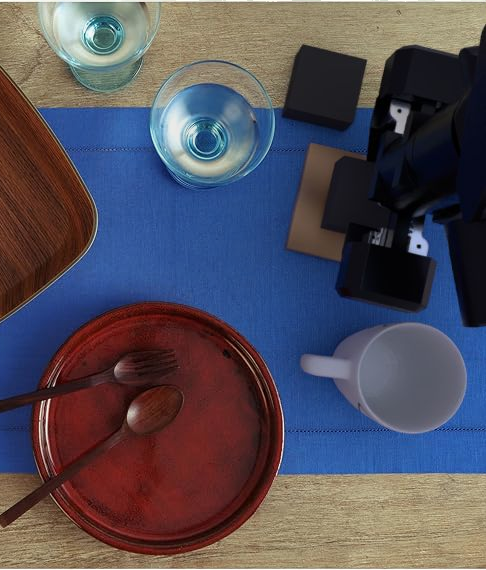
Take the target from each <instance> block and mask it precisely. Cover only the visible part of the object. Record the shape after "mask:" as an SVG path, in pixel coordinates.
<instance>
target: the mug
mask: <svg viewBox="0 0 486 570" xmlns="http://www.w3.org/2000/svg"><path fill="white" fill-rule="evenodd" d="M299 361H300V363H299V366H300V368H301V370H303V372H305V373H307V374H309V375H312V376H317V377H324V378H331V379H332V380H333V382H334V384H335V386H336V388H337V389H338V391H339V392H340V393H341V394H342V395H343V397H344V398H345V399H346V400H347V401H348V402H349V403H350V404H351V405H352V407H353V408H355V409H356V410H357V411H359V412H360V413H361V414H362V415H365V416H366V417H367V418H369V419H371V420H372V421H374V422H375V423H377V424H379V425H380V426H382V427H383V428H386V429H388V430H391V431H393V432H397V433H401V434H407V435H409V434H410V435H417V434H423V433H428V432H430V431H433V430H435V429H438V428H440V427H441V426H443V425H444V424H446V423H447V422H448V421H449V420H450V419H451V418H453V416H454V415H456V413H457V412H458V410H459V409H460V407H461V404H462V403H463V400H464V398H465V395H466V391H467V384H468V374H467V368H466V364H465V361H464V358H463V356H462V354H461V351H460V349H458V347H457V345H456V344H455V343H454V342H453V340H452V339H451V338H450V337H449V336H448V335H447V334H446V333H444V332H443V331H441V330H439V329H438V328H436V327H434V326H432V325H430V324H426V323H422V322H417V321H397V322H389V323H383V324H377V325H376V324H375V325H374V326H373V325H372V326H370V327H366V328H364V329H361V330H360V331H357V332H355V333H353V334H351V335H349V336H347V337H345V339H342V340H341V342H340V343H339V344H338V345H337V347H336V348H335V349H334V352H333V354H332V356H328V355H319V354H311V353H304V354H302V355H301V357H300V360H299Z"/></svg>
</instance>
